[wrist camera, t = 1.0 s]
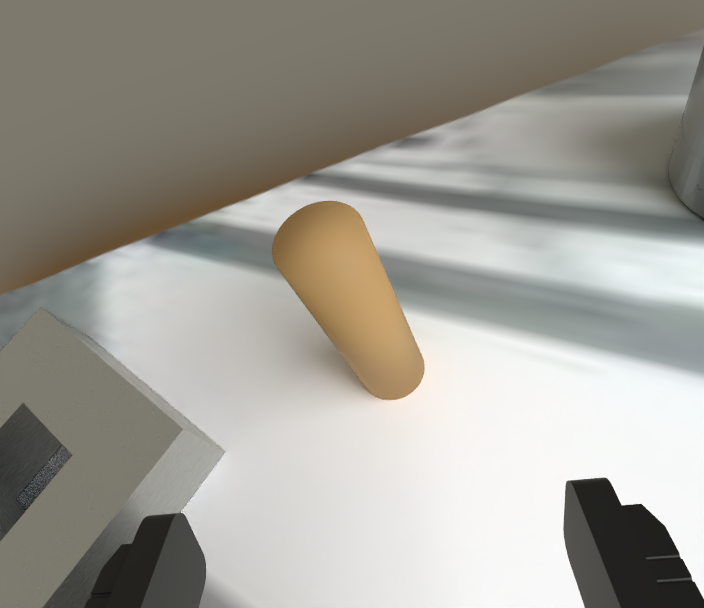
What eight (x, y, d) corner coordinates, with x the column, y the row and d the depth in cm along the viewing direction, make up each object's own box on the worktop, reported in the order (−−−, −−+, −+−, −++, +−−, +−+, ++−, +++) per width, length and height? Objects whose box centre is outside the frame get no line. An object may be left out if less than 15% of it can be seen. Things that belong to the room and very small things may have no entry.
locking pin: (385, 329, 36) (311, 189, 24) (436, 358, 34) (384, 220, 22) (348, 379, 35) (253, 258, 23) (400, 412, 33) (325, 298, 21)
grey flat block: (89, 337, 42) (41, 306, 38) (225, 451, 35) (183, 428, 30) (-70, 518, 39) (-144, 506, 34) (42, 693, 31) (-36, 705, 27)
